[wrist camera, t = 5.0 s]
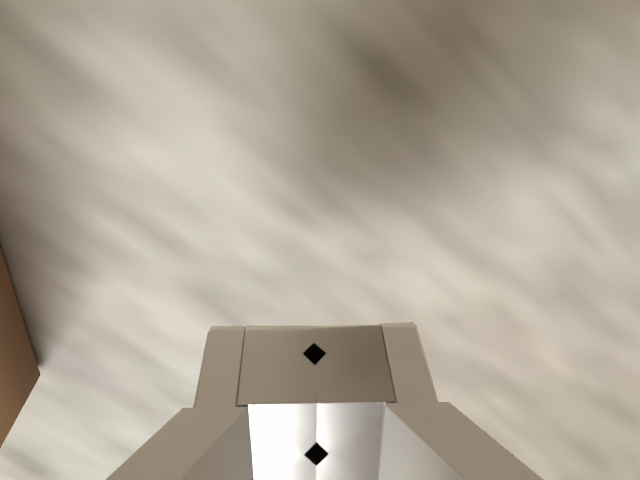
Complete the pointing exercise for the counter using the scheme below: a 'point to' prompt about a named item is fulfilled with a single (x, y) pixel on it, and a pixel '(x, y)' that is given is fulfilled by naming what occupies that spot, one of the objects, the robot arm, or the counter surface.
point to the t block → (13, 356)
